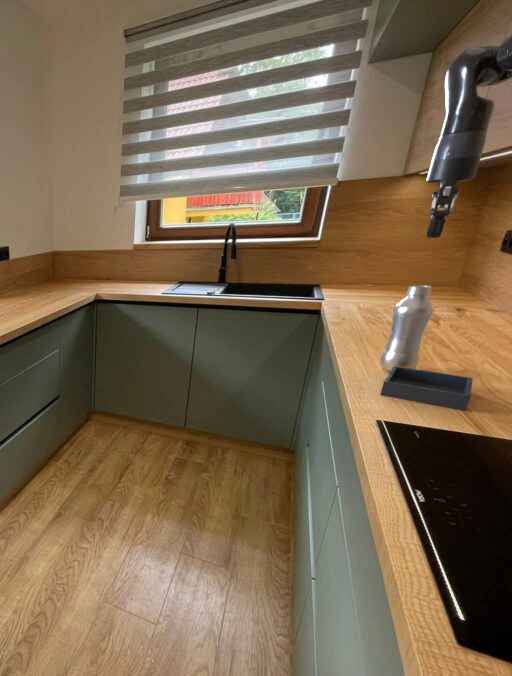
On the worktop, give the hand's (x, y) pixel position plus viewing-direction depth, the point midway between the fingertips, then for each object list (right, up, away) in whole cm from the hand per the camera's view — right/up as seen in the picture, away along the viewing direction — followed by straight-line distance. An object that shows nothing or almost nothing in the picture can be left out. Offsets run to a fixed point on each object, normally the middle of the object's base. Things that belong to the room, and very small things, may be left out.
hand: (432, 236), depth 97 cm
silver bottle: (-4, -31, +5) cm, 31 cm away
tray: (-10, -36, -8) cm, 38 cm away
